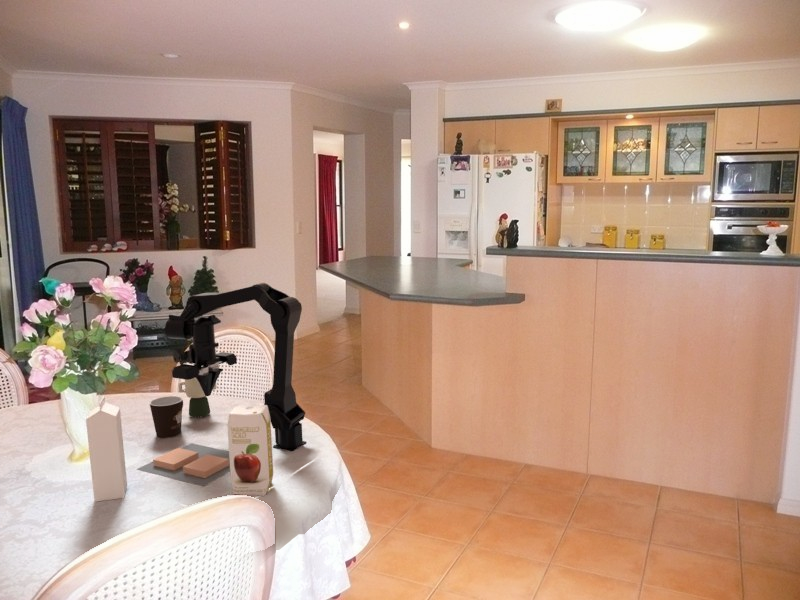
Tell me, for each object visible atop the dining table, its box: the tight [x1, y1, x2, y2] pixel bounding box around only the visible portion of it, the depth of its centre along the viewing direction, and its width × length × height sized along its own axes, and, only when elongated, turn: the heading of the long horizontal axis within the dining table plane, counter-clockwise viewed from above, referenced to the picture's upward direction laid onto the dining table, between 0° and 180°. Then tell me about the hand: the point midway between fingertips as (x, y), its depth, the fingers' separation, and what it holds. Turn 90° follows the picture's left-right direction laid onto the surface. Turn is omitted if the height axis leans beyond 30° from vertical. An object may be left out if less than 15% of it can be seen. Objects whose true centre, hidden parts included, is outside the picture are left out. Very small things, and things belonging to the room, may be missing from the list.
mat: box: [136, 442, 230, 487], centre depth 154 cm, size 22×18×1 cm
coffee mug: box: [149, 395, 184, 439], centre depth 174 cm, size 12×9×10 cm
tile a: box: [183, 454, 229, 478], centre depth 149 cm, size 7×2×8 cm
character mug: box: [178, 378, 217, 419], centre depth 188 cm, size 11×7×13 cm, turn 105°
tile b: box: [152, 447, 199, 471], centre depth 154 cm, size 7×2×8 cm
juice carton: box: [226, 404, 274, 497], centre depth 138 cm, size 8×9×19 cm
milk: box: [85, 396, 128, 503], centre depth 137 cm, size 6×6×22 cm
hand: (207, 395), depth 169 cm, fingers closed
